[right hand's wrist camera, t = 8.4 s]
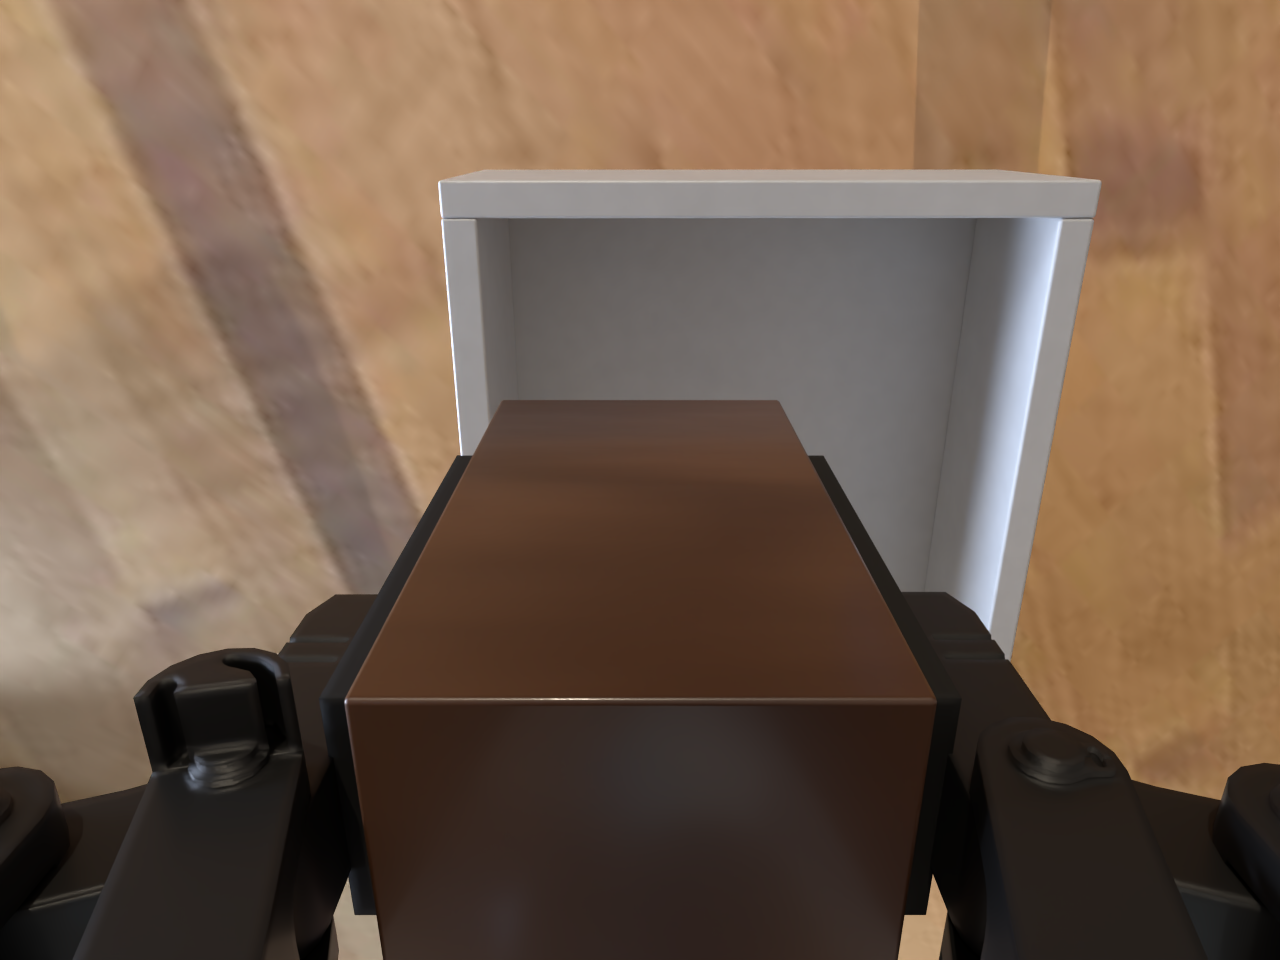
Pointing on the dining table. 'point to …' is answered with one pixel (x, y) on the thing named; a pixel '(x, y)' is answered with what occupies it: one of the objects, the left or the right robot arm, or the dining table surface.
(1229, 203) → the dining table surface
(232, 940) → the right robot arm
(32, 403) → the dining table surface
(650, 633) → the walnut block
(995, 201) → the grey tray
